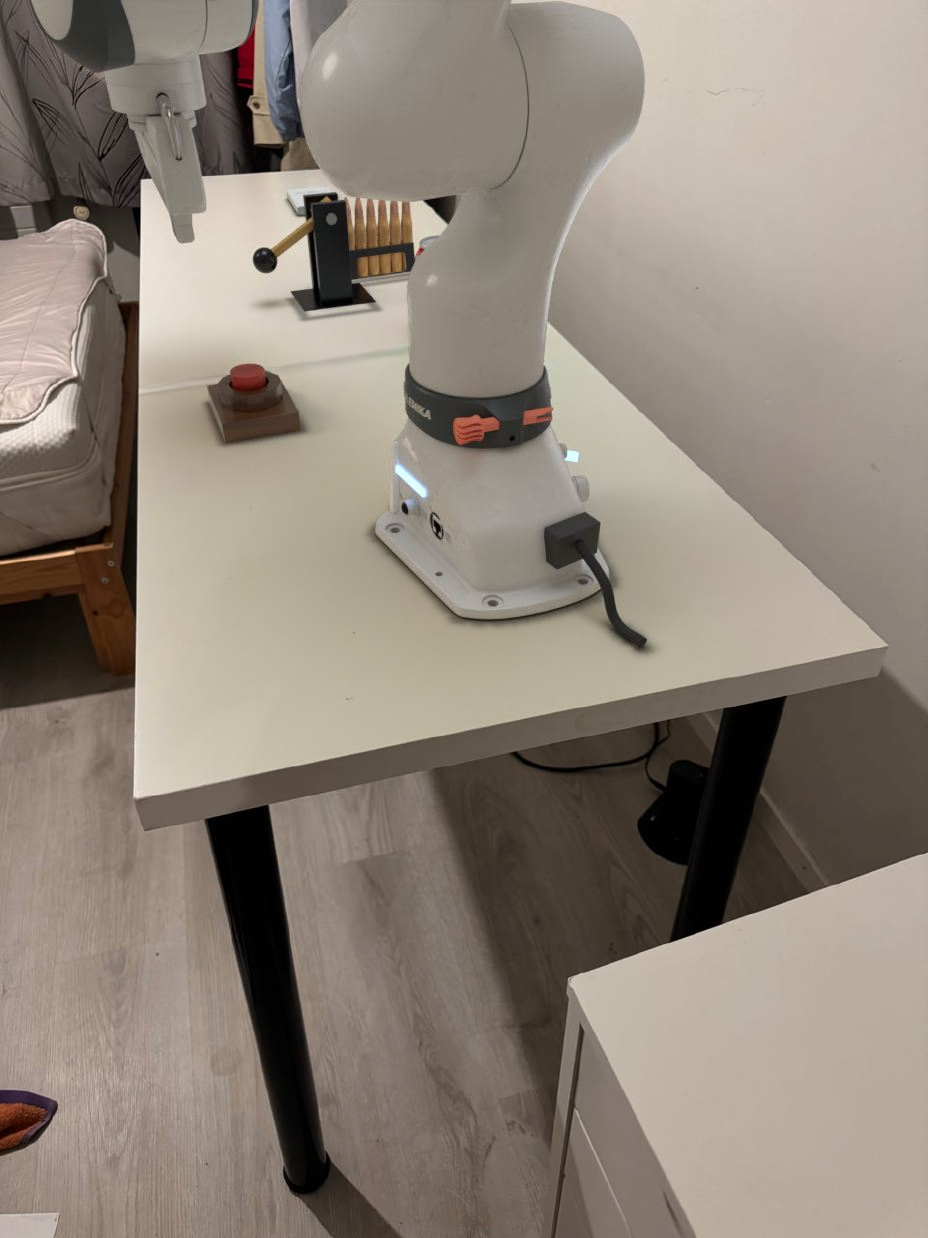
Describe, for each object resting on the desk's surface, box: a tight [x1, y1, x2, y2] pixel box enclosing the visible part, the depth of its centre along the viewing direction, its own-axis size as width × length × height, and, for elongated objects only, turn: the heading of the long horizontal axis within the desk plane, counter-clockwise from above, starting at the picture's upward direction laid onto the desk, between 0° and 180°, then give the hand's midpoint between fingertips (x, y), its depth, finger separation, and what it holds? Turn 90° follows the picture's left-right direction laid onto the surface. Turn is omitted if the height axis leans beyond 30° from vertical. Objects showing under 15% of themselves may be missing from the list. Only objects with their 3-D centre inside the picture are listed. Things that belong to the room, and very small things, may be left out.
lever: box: [252, 197, 331, 274], centre depth 117 cm, size 13×3×3 cm
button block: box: [206, 370, 302, 444], centre depth 97 cm, size 10×8×4 cm
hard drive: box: [286, 186, 340, 217], centre depth 163 cm, size 2×8×12 cm
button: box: [229, 363, 267, 391], centre depth 95 cm, size 4×4×2 cm
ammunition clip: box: [343, 196, 416, 281], centre depth 128 cm, size 11×2×12 cm, turn 114°
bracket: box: [290, 191, 377, 313], centre depth 120 cm, size 10×8×14 cm
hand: (184, 239), depth 93 cm, fingers closed
